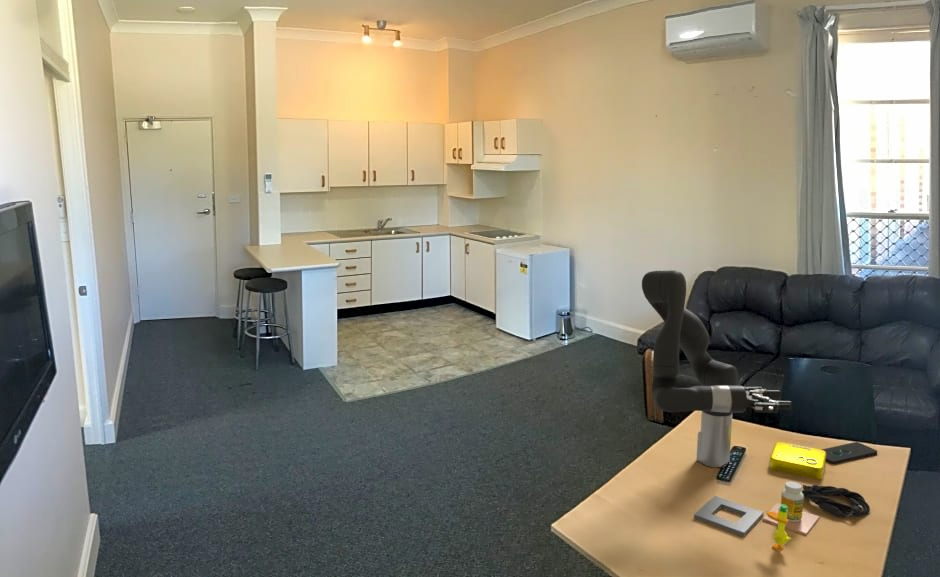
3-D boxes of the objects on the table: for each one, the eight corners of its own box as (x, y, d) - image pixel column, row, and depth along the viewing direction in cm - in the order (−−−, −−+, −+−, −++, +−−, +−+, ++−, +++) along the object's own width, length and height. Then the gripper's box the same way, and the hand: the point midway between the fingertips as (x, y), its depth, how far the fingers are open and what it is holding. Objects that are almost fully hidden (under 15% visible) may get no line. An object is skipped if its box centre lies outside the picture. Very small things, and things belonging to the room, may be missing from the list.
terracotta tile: (762, 520, 181) (762, 518, 181) (777, 504, 189) (777, 502, 189) (806, 535, 174) (806, 533, 174) (819, 518, 182) (819, 516, 181)
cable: (790, 497, 193) (791, 483, 192) (819, 485, 200) (820, 471, 199) (848, 525, 179) (850, 510, 178) (878, 510, 186) (879, 496, 185)
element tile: (825, 462, 215) (827, 448, 214) (821, 482, 202) (823, 467, 201) (775, 452, 223) (776, 439, 222) (768, 470, 210) (769, 456, 209)
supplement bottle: (787, 510, 185) (789, 478, 183) (805, 518, 180) (808, 485, 179) (775, 516, 182) (778, 483, 180) (794, 524, 177) (797, 491, 176)
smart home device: (811, 450, 220) (856, 441, 227) (811, 455, 220) (856, 445, 227) (833, 461, 212) (879, 450, 219) (832, 466, 212) (878, 455, 219)
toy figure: (760, 544, 170) (763, 501, 168) (767, 539, 172) (771, 496, 170) (786, 556, 165) (790, 512, 162) (793, 551, 167) (797, 507, 164)
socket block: (693, 518, 183) (694, 514, 182) (714, 499, 192) (714, 495, 192) (743, 536, 173) (744, 532, 173) (763, 516, 183) (763, 512, 183)
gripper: (734, 395, 180) (797, 396, 179) (719, 377, 194) (777, 378, 193) (732, 421, 182) (794, 422, 180) (718, 402, 195) (775, 403, 194)
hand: (785, 399), depth 186 cm, fingers open, 8 cm apart
